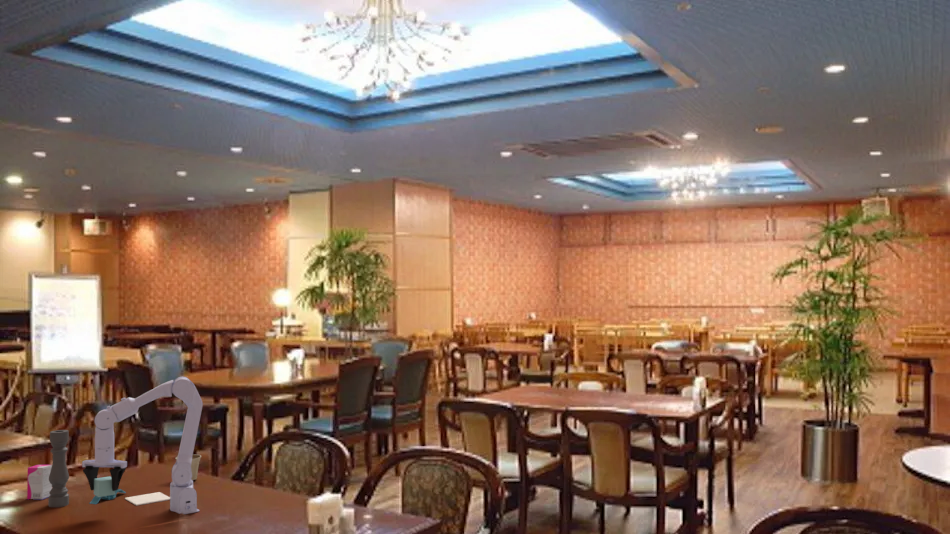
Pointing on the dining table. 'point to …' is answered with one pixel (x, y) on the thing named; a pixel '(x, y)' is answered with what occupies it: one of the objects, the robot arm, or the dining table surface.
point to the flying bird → (105, 497)
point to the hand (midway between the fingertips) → (104, 489)
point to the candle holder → (59, 469)
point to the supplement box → (38, 482)
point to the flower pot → (194, 465)
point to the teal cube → (103, 486)
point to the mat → (148, 498)
